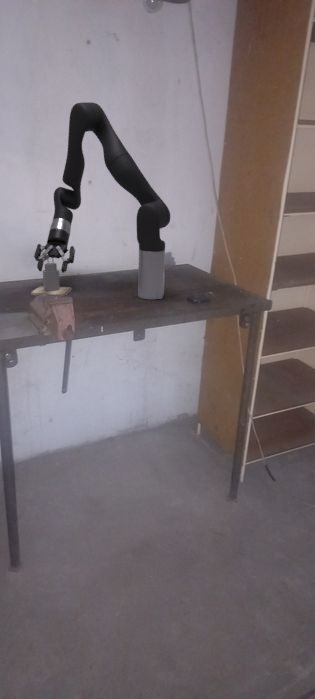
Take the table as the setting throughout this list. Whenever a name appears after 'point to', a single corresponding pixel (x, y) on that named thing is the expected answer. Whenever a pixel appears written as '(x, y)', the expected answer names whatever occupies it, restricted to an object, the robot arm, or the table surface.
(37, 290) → the birch board
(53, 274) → the power adapter
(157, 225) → the robot arm
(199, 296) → the table surface
